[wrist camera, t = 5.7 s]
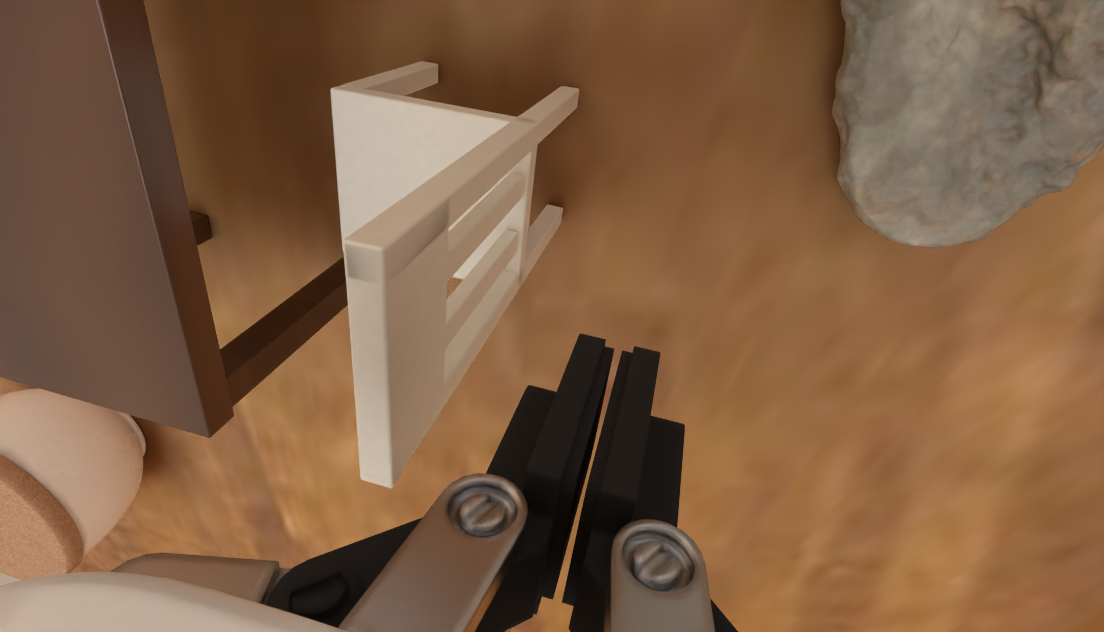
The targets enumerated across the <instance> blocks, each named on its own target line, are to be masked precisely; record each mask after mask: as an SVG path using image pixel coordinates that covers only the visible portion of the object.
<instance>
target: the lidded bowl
mask: <svg viewBox="0 0 1104 632" xmlns="http://www.w3.org/2000/svg"><path fill="white" fill-rule="evenodd" d="M145 452H146V442H145V438H144V436H143V433H142V431H141V430H140V428H139V426H138V425H137V423H136V422H135V421H134V420H133V418H132V417H131V416H130V415H129V414H125V413H122V412H118V411H115V410H112V409H108V408H105V407H101V406H98V405H94V404H91V403H88V402H84V401H81V400H77V399H74V398H70V397H67V396H64V395H60V394H57V393H53V392H50V391H46V390H43V389H39V388H33V389H22V390H18V391H13V392H8V393H5V394H2V395H0V573H3V574H6V575H8V576H11V577H14V578H17V579H20V580H26V579H30V578H36V577H42V576H48V575H56V574H68V573H70V572H72V571H73V570H74V569H75V568H76V567H77V566H78V565H79V564H80V562H81V560H82V558H83V557H85V556H86V555H87V554H88V553H89V552H90V551H91V550H92V549H93V548H94V547H96V546H97V545H98V544H99V543H100V542H101V541H102V540H103V539H104V538H105V537H106V536H107V535H108V534H109V532H110V531H111V530H112V529H113V528H114V527H115V526H116V524H117V523H118V522H119V521H120V520H121V518H122V517H123V515H124V514H125V513H126V511H127V510H128V508H129V507H130V505H131V504H132V502H133V500H134V498H135V496H136V494H137V492H138V489H139V486H140V483H141V479H142V473H143V456H144V455H145Z"/></svg>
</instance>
